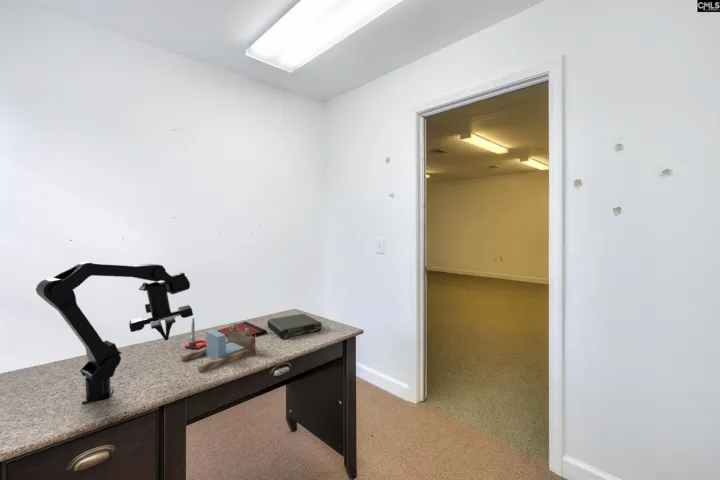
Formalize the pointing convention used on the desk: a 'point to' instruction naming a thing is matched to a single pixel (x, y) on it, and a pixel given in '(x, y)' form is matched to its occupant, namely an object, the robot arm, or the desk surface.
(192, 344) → the tow hook
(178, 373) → the desk surface
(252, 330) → the binder
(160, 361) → the desk surface
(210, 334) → the block
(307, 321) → the dark green electronics case
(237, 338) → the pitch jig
